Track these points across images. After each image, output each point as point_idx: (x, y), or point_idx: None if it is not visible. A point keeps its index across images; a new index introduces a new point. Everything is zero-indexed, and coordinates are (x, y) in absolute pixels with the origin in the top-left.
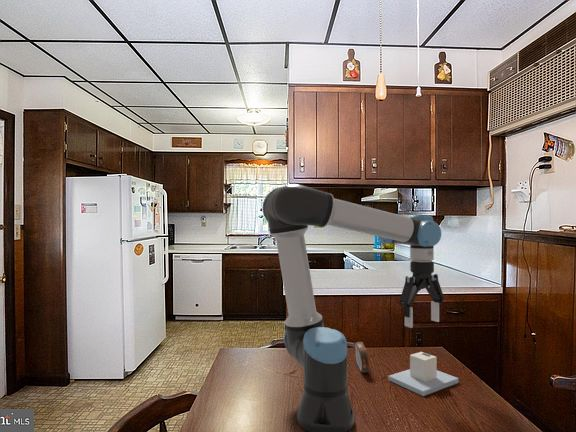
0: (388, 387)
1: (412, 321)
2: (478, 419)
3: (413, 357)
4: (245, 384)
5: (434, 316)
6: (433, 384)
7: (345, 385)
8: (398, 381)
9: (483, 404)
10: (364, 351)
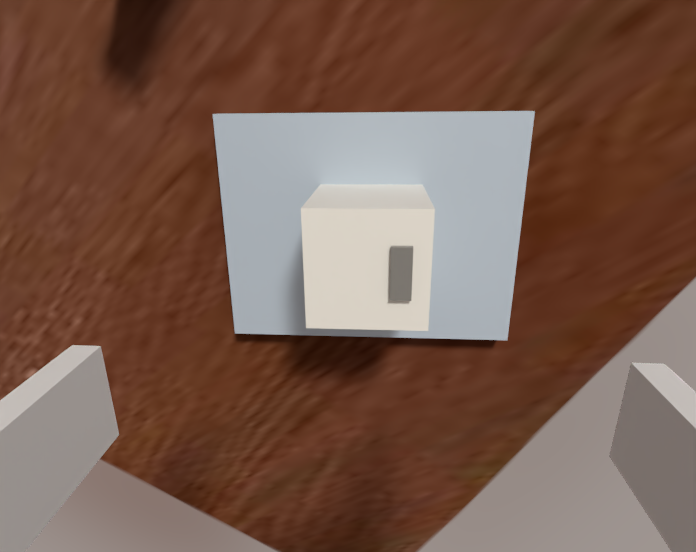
0: (163, 178)
1: (68, 491)
2: (273, 508)
3: (303, 237)
4: None
5: (656, 460)
6: None
7: None
8: (221, 189)
9: (387, 475)
10: None
